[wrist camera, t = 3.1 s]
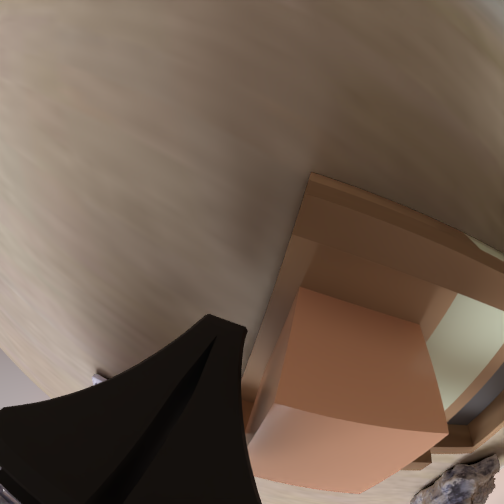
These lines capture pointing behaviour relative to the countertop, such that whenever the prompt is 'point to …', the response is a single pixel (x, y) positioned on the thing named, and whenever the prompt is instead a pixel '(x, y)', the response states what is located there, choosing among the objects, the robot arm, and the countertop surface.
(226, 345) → the robot arm
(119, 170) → the countertop surface
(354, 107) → the countertop surface
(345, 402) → the block
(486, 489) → the mineral specimen
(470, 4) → the countertop surface
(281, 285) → the channel
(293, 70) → the countertop surface
